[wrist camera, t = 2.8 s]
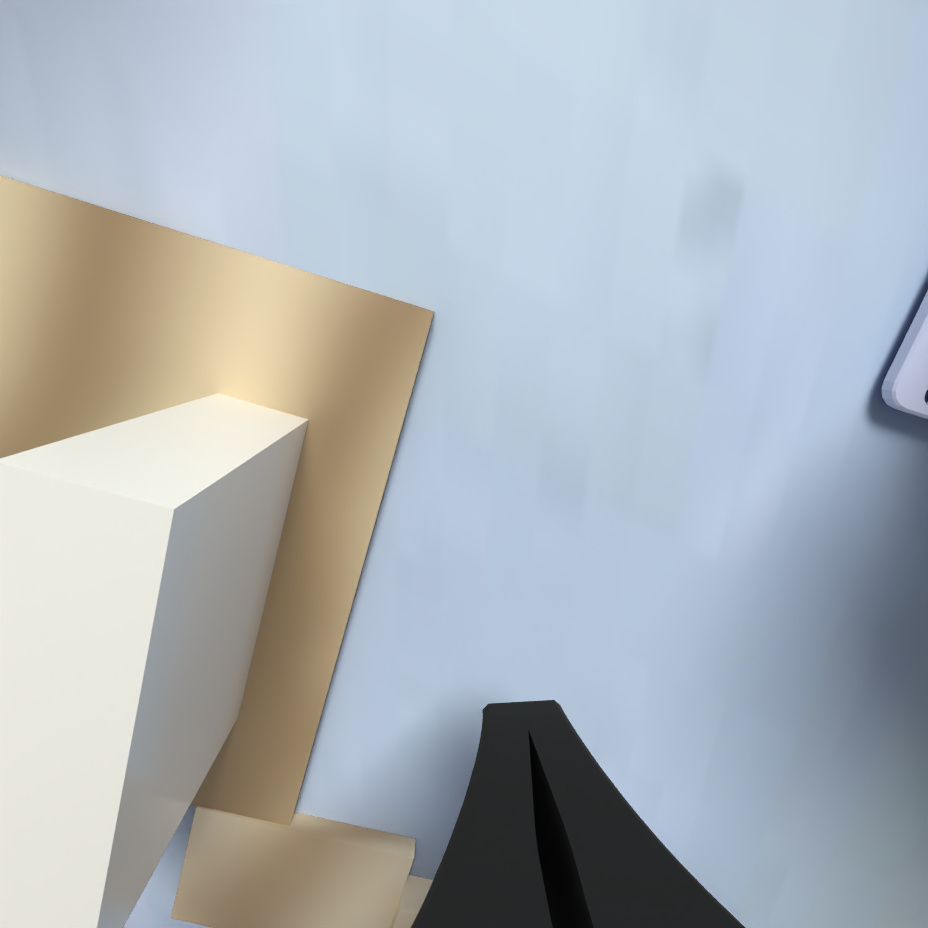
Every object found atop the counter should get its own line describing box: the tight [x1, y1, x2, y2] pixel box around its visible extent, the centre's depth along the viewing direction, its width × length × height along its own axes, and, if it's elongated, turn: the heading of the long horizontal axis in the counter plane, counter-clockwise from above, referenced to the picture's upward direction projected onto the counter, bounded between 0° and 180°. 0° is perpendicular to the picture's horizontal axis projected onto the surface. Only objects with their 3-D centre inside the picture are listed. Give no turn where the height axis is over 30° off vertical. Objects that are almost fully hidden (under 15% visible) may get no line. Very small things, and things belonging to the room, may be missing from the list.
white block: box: [0, 393, 308, 928], centre depth 10 cm, size 2×8×6 cm, turn 163°
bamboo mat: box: [0, 175, 434, 826], centre depth 13 cm, size 16×14×1 cm
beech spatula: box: [171, 806, 433, 928], centre depth 16 cm, size 13×4×1 cm, turn 73°
